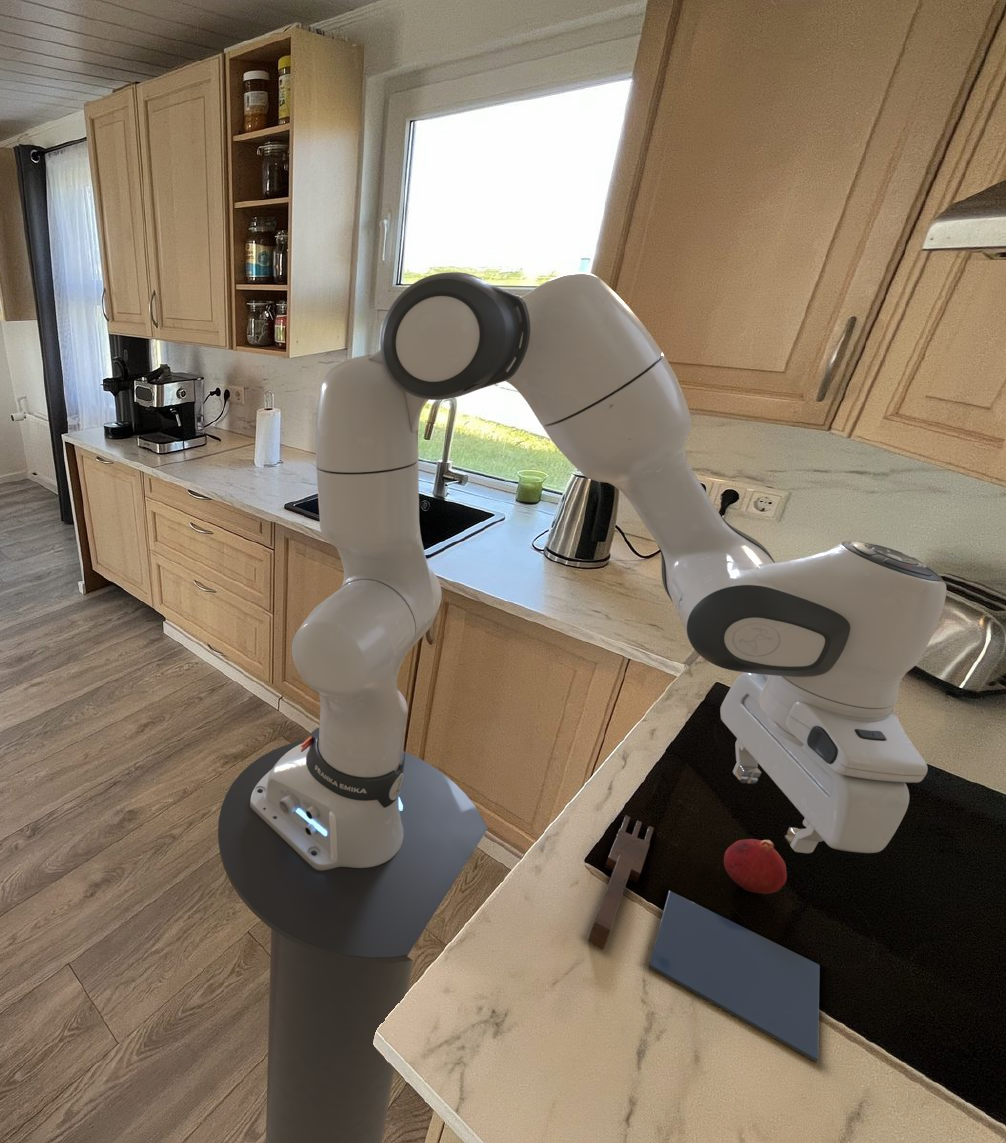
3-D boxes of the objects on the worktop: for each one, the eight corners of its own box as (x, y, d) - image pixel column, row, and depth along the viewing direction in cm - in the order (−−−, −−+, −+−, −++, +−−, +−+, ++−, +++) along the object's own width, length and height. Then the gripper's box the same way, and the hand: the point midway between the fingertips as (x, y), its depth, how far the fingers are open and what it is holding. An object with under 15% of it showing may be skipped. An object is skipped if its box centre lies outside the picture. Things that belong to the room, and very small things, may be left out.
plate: (648, 967, 67) (649, 964, 67) (668, 893, 75) (669, 890, 75) (816, 1062, 59) (818, 1059, 59) (818, 967, 67) (819, 964, 67)
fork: (613, 955, 68) (620, 936, 67) (578, 935, 71) (584, 916, 69) (652, 834, 84) (659, 817, 82) (622, 821, 86) (628, 803, 84)
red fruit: (715, 892, 75) (737, 845, 72) (715, 860, 80) (736, 814, 76) (776, 918, 72) (801, 869, 69) (772, 882, 77) (796, 835, 73)
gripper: (727, 646, 70) (688, 743, 76) (860, 774, 52) (796, 889, 57) (788, 651, 69) (745, 748, 75) (946, 783, 51) (873, 899, 56)
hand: (768, 810), depth 66 cm, fingers open, 8 cm apart
